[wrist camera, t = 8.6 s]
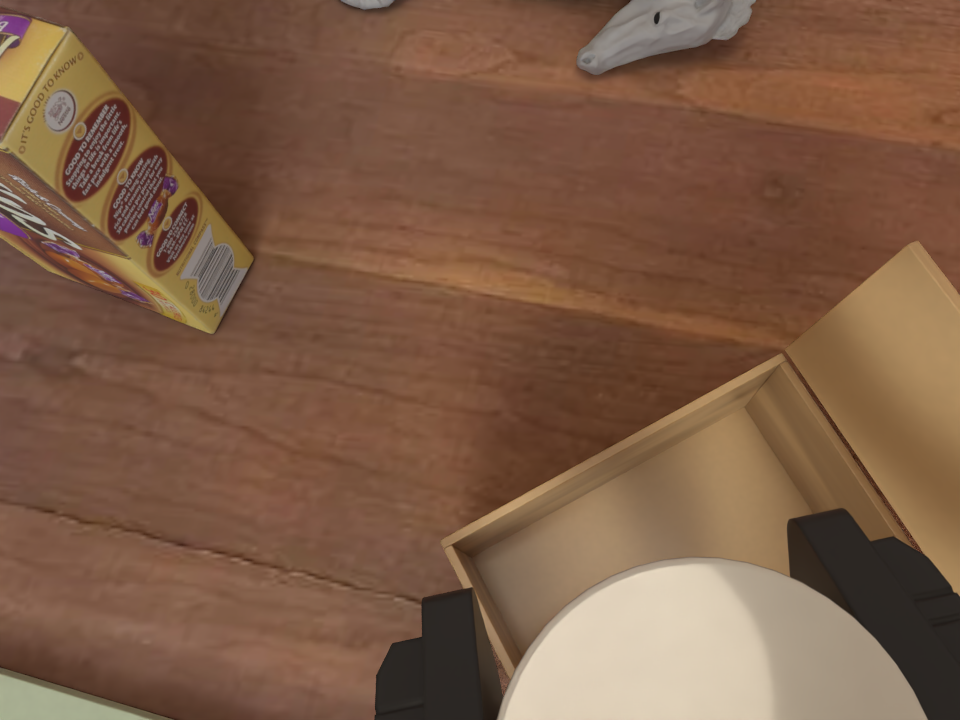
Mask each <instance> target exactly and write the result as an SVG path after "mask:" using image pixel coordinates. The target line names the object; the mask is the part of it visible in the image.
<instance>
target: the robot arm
mask: <svg viewBox="0 0 960 720" xmlns="http://www.w3.org/2000/svg"><path fill="white" fill-rule="evenodd" d="M787 541H788V555H789V570H790V577H791V578H794V579H796V580H798V581H801V582H803V583H804V584H806V585H808V586H810V587H811V588H813V589H815V590H816V591H818V592H820V593H821V594H823V595H825V596H827V597H828V598H830V599H831V600H832V601H833V602H835V603H836V604H837V605H839V606H840V607H841V608H843V609H844V610H845V611H847V612H848V613H849V614H851V615H852V616H853V617H854V618H855V619H856V620H857V621H858V622H859V623H860V624H861V625H862V626H863V627H865V628H866V629H867V630H868V631H869V632H870V633H871V634H872V635H873V636H874V637H875V638H876V639H877V641H878V642H879V643H880V644H881V645H882V647H883V648H884V649H885V650H886V651H887V653H888V654H889V655H890V656H891V657H892V659H893V660H894V661H895V662H896V664H897V665H898V667H899V668H900V670H901V672H902V673H903V675H904V676H905V678H906V679H907V681H908V682H909V684H910V685H911V687H912V688H913V690H914V692H915V694H916V696H917V698H918V700H919V702H920V704H921V706H922V708H923V710H924V712H925V714H926V716H927V718H928V720H960V596H959V595H958V593H957V592H956V593H954V592H953V589H952V586H951V585H950V583H949V582H948V581H947V580H946V579H945V577H944V576H943V575H942V574H941V572H940V571H939V570H938V569H937V567H936V566H935V565H934V564H933V562H932V561H931V560H930V559H929V558H928V557H927V556H925V555H923V554H922V553H920V552H919V551H917V550H915V549H914V548H912V547H910V546H909V545H907V544H905V543H904V542H902V541H901V540H899V539H897V538H896V537H894V536H892V537H887V538H883V539H878V540H873V541H870V540H869V539H868V537H867V536H866V535H865V533H864V532H863V531H862V529H861V528H860V527H859V525H858V524H857V522H856V521H855V520H854V518H853V517H852V516H851V514H850V513H849V512H848V511H847V510H846V509H844V508H838V509H833V510H829V511H824V512H819V513H815V514H810V515H806V516H801V517H796V518H792V519H789V520H788V523H787ZM502 699H503V695H502V689H501V684H500V679H499V675H498V670H497V666H496V663H495V659H494V655H493V652H492V648H491V645H490V641H489V638H488V634H487V631H486V627H485V624H484V620H483V617H482V613H481V610H480V606H479V603H478V599H477V596H476V593H475V590H474V588H473V587H470V588H465V589H461V590H456V591H452V592H447V593H442V594H438V595H433V596H429V597H424V598H423V599H422V637H419V638H415V639H410V640H405V641H401V642H396V643H392V645H391V647H390V649H389V651H388V653H387V655H386V657H385V659H384V661H383V663H382V665H381V667H380V669H379V671H378V673H377V675H376V698H375V710H376V715H375V720H497V717H498V713H499V710H500V706H501V703H502Z"/></svg>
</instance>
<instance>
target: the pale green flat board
mask: <svg viewBox="0 0 960 720" xmlns="http://www.w3.org/2000/svg"><path fill="white" fill-rule="evenodd" d="M0 720H173V719H170V718H167V717H163V716H160V715H157V714H153V713H150V712H147V711H143V710H140V709H137V708H133V707H130V706H127V705H123V704H120V703H117V702H113V701H110V700H107V699H103V698H100V697H97V696H93V695H90V694H87V693H83V692H80V691H77V690H73V689H70V688H67V687H64V686H60V685H57V684H54V683H50V682H47V681H44V680H40V679H37V678H34V677H30V676H27V675H24V674H20V673H17V672H14V671H10V670H7V669H4V668H0Z"/></svg>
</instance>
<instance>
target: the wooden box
mask: <svg viewBox="0 0 960 720" xmlns="http://www.w3.org/2000/svg"><path fill="white" fill-rule="evenodd" d="M838 508H844V509H846V510H847V511H848V512H849V513H850V514H851V516H852V517H853V518H854V520H855V521H856V522H857V524H858V525H859V527H860V528H861V529H862V531H863V532H864V533H865V535H866V536H867V537H868V539H869V540H870V541H873V540H878V539H883V538H887V537H892V536H894V537H896V538H897V539H899V540H901V541H902V542H904V543H905V544H907V545H909V546H910V547H912V548H914V547H913V545H912V544H911V542H910V541H909V539H908V538H907V536H906V535H905V533H904V532H903V530H902V529H901V527H900V526H899V525H898V523H897V522H896V520H895V519H894V517H893V516H892V514H891V513H890V511H889V510H888V508H887V507H886V505H885V504H884V502H883V501H882V499H881V498H880V497H879V495H878V494H877V492H876V491H875V489H874V488H873V486H872V485H871V483H870V482H869V480H868V479H867V477H866V476H865V474H864V473H863V472H862V470H861V469H860V467H859V466H858V464H857V463H856V461H855V460H854V458H853V457H852V455H851V454H850V452H849V451H848V449H847V448H846V447H845V445H844V444H843V442H842V441H841V439H840V438H839V436H838V435H837V433H836V432H835V430H834V429H833V427H832V426H831V424H830V423H829V422H828V420H827V419H826V417H825V416H824V414H823V413H822V411H821V410H820V408H819V407H818V405H817V404H816V402H815V401H814V399H813V398H812V397H811V395H810V394H809V392H808V391H807V389H806V388H805V386H804V385H803V383H802V382H801V380H800V379H799V377H798V376H797V374H796V373H795V371H794V370H793V369H792V367H791V366H790V364H789V363H788V361H786V358H785V357H784V355H783V354H782V353H780V354H778V355H776V356H775V357H773V358H771V359H769V360H767V361H766V362H764V363H762V364H760V365H758V366H756V367H755V368H753V369H751V370H749V371H747V372H745V373H744V374H742V375H740V376H738V377H736V378H735V379H733V380H731V381H729V382H727V383H725V384H724V385H722V386H720V387H718V388H716V389H715V390H713V391H711V392H709V393H707V394H705V395H704V396H702V397H700V398H698V399H696V400H694V401H693V402H691V403H689V404H687V405H685V406H684V407H682V408H680V409H678V410H676V411H674V412H673V413H671V414H669V415H667V416H665V417H663V418H662V419H660V420H658V421H656V422H654V423H653V424H651V425H649V426H647V427H645V428H643V429H642V430H640V431H638V432H636V433H634V434H633V435H631V436H629V437H627V438H625V439H623V440H622V441H620V442H618V443H616V444H614V445H612V446H611V447H609V448H607V449H605V450H603V451H602V452H600V453H598V454H596V455H594V456H592V457H591V458H589V459H587V460H585V461H583V462H582V463H580V464H578V465H576V466H574V467H572V468H571V469H569V470H567V471H565V472H563V473H561V474H560V475H558V476H556V477H554V478H552V479H551V480H549V481H547V482H545V483H543V484H541V485H540V486H538V487H536V488H534V489H532V490H530V491H529V492H527V493H525V494H523V495H521V496H520V497H518V498H516V499H514V500H512V501H510V502H509V503H507V504H505V505H503V506H501V507H500V508H498V509H496V510H494V511H492V512H490V513H489V514H487V515H485V516H483V517H481V518H479V519H478V520H476V521H474V522H472V523H470V524H469V525H467V526H465V527H463V528H461V529H459V530H458V531H456V532H454V533H452V534H450V535H448V536H447V537H445V538H443V539H441V540H440V543H441V545H442V547H443V548H444V551H445V553H446V555H447V557H448V559H449V561H450V563H451V565H452V567H453V569H454V571H455V573H456V575H457V576H458V578H459V580H460V582H461V584H462V586H463V588H464V589H465V588H470V587H473V588H474V590H475V593H476V596H477V599H478V603H479V606H480V610H481V613H482V617H483V620H484V624H485V627H486V631H487V634H488V638H489V640H490V642H491V644H492V646H493V647H494V649H495V651H496V653H497V655H498V657H499V659H500V661H501V663H502V665H503V667H504V669H505V671H506V673H507V675H508V677H509V679H510V680H511V678H512V675H513V673H514V671H515V669H516V667H517V666H518V664H519V662H520V661H521V659H522V657H523V656H524V654H525V652H526V650H527V649H528V647H529V646H530V644H531V643H532V642H533V641H534V639H535V638H536V637H537V635H538V634H539V633H540V632H541V630H542V629H543V628H544V626H545V625H546V624H547V623H548V622H549V621H550V620H551V619H552V618H553V617H554V616H555V615H556V614H557V613H558V612H559V611H560V610H561V609H562V608H563V607H564V606H565V605H567V604H568V603H569V602H571V601H572V600H573V599H575V598H576V597H577V596H579V595H580V594H581V593H583V592H584V591H585V590H587V589H588V588H590V587H592V586H594V585H595V584H597V583H599V582H601V581H603V580H604V579H606V578H608V577H610V576H612V575H614V574H617V573H619V572H622V571H625V570H627V569H630V568H632V567H635V566H638V565H642V564H646V563H650V562H655V561H659V560H663V559H672V558H682V557H719V558H725V559H731V560H737V561H744V562H749V563H752V564H755V565H759V566H762V567H765V568H769V569H772V570H775V571H778V572H780V573H782V574H785V575H787V576H789V577H790V570H789V555H788V541H787V523H788V520H789V519H792V518H796V517H801V516H806V515H810V514H815V513H819V512H824V511H829V510H833V509H838ZM914 549H915V548H914Z"/></svg>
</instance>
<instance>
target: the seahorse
mask: <svg viewBox="0 0 960 720" xmlns="http://www.w3.org/2000/svg"><path fill="white" fill-rule="evenodd" d="M341 1H342V2H344V3H346V4H348V5H351V6H354V7H358V8H361V9H363V10H366V9H372V8H381V7H388V6H389V5H390V4H391V3H392V2H394V1H395V0H341ZM755 2H756V0H631V2H630V3H629V4H627V5H626V6H625V7H623V8H622V9H621V10H619V11H618V12H617V13H616V14H615V15H614V16H613V17H612V18H611V20H610V21H609V22H608V23H607V24H606V25H605V26H604V27H603V29H602V30H601V31H600V32H599V33H598V34H597V35H596V36H595V37H594V38H593V39H592V40H591V41H590V43H589V44H588V45H586V46H585V47H583V48H582V49H580V51H579V53H578V56H577V66H578V67H579V68H580V69H582V70H585V71H587V72H589V73H591V74H594V75H600V74H601V73H603V72H605V71H607V70H609V69H612V68H614V67H616V66H620V65H624V64H627V63H630V62H632V61H635V60H638V59H642V58H645V57H648V56H652V55H657V54H661V53H667V52H671V51H677V50H682V49H688V48H693V47H698V46H700V45H704V44H707V43H708V42H709V41H710V40H711V39H718V40H719V39H723V40H728V39H730V38H731V37H733V36H734V35H735V34H736V33H737V30H738V29H739V28H740V27H741V26H743V25H745V24H746V23H747V22H748V21H749V18H750V16H751V14H752V9H751V8H750V6H751V5H752V4H754V3H755Z"/></svg>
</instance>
